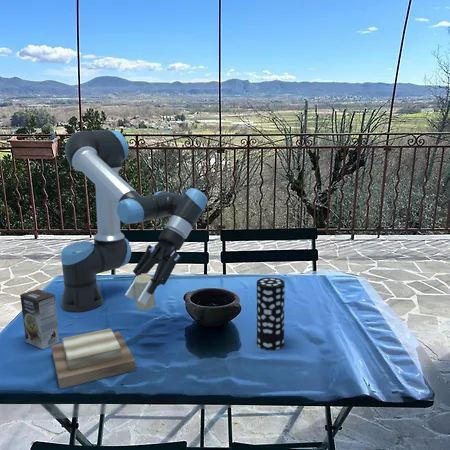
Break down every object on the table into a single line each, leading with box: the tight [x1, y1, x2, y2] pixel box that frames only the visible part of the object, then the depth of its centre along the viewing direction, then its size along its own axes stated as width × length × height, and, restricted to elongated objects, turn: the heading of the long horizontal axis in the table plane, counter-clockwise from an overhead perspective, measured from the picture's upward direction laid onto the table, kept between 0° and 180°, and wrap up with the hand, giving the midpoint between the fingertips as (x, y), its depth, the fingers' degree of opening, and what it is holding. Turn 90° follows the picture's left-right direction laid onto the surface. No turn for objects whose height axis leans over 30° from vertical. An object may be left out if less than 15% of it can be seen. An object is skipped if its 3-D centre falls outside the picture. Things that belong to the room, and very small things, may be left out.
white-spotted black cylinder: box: [256, 276, 286, 351], centre depth 136 cm, size 8×8×20 cm
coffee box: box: [19, 288, 60, 350], centre depth 141 cm, size 9×6×16 cm
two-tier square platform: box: [51, 328, 137, 390], centre depth 129 cm, size 20×20×6 cm
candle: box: [135, 273, 156, 311], centre depth 133 cm, size 6×6×10 cm
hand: (135, 299), depth 131 cm, fingers closed on candle, 5 cm apart
